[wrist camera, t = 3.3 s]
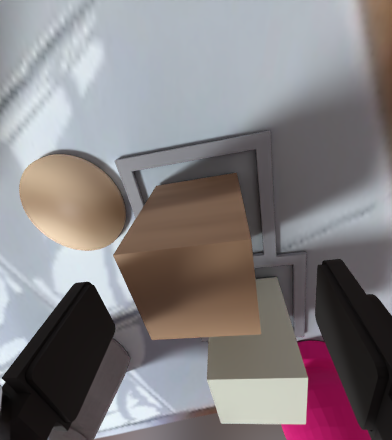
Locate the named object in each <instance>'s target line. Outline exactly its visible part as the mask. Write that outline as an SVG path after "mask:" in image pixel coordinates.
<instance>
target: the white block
mask: <svg viewBox="0 0 392 440" xmlns="http://www.w3.org/2000/svg"><path fill="white" fill-rule="evenodd" d="M255 280H256V289H257V299H258V308H259V318H260V327H261V334H259V335H239V336H219V337H209V342H208V368H207V381H208V384H209V387H210V390H211V394H212V397H213V400H214V403H215V406H216V409H217V412H218V415H219V418H220V422H221V423H224V424H228V423H229V424H231V423H232V424H306V412H307V390H308V376H307V373H306V369H305V366H304V363H303V360H302V356H301V353H300V350H299V347H298V343H297V340H296V337H295V334H294V331H293V327H292V324H291V321H290V318H289V314H288V311H287V308H286V305H285V301H284V298H283V295H282V292H281V288H280V285H279V282H278V279H277V277H273V278H261V279H255Z"/></svg>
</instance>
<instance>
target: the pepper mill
mask: <svg viewBox="0 0 392 440" xmlns="http://www.w3.org/2000/svg"><path fill="white" fill-rule="evenodd" d="M297 343H298V347H299V350H300V353H301V356H302V360H303V363H304V366H305V369H306V373H307V376H308V390H307V412H306V424H281V425H282V428H283V431H284V434H285V437H286V439H287V440H371V437H370V435H369V433H368V430H363V429H361V427H360V426H359V424H358V422H357V419H356V417H355V414H354V412H353V410H352V407H351V405H350V402H349V400H348V397H347V395H346V393H345V390H344V388H343V385H342V383H341V380H340V378H339V375H338V373H337V371H336V368H335V366H334V363H333V361H332V358H331V356H330V354H329V351H328V349H327V346H326V344H325V342H322V341H313V340H312V341H301V342H297Z"/></svg>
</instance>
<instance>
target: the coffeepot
mask: <svg viewBox="0 0 392 440" xmlns="http://www.w3.org/2000/svg"><path fill="white" fill-rule="evenodd" d="M130 359H131V358H130V357H129V355H128V353H127V352H126V350H125V349H124V348H123V347H122V345H120V344H119V343H118V342H117V341H116V340H114V339H113V338H112V340H111V342H110V344H109V347H108V349H107V351H106V353H105V356H104V358H103V360H102V362H101V365H100V367H99V369H98V371H97V374H96V376H95V378H94V380H93V383H92V385H91V387H90V389H89V392H88V394H87V396H86V398H85V401H84V403H83V405H82V407H81V410H80V412H79V414H78V416H77V418H76V419H75V420H74V421H72V423H71V426H70V428H69V430H68V431H55V430H54V429H52V431H51V433H50V435H49V440H94V438H95V436H96V434H97V432H98V430H99V428H100V425H101V423H102V421H103V419H104V417H105V415H106V413H107V411H108V409H109V407H110V405H111V403H112V401H113V399H114V397H115V395H116V393H117V390H118V388H119V386H120V384H121V382H122V380H123V378H124V376H125V373H126V370H127V367H128V364H129V362H130Z"/></svg>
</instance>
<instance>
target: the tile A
mask: <svg viewBox="0 0 392 440" xmlns="http://www.w3.org/2000/svg"><path fill="white" fill-rule="evenodd" d="M254 149H256V160H257V173H258V186H259V198H260V211H261V224H262V237H263V249H264V253H255V254H253V261H254V265H260V264H270V263H272V262H273V263H277V258H276V237H275V216H274V195H273V174H272V152H271V131H270V130H268V131H263V132H258V133H253V134H247V135H242V136H237V137H232V138H226V139H221V140H216V141H211V142H205V143H200V144H195V145H190V146H185V147H179V148H174V149H169V150H164V151H158V152H153V153H148V154H143V155H137V156H132V157H127V158H122V159H116V160H115V164H116V166H117V169H118V172H119V174H120V177H121V180H122V183H123V185H124V188H125V191H126V194H127V196H128V199H129V202H130V204H131V207H132V210H133V213H134V215H135V218H137V216H138V214H139V213H140V211H141V210H142V208H143V206H144V205H145V204H144V201H143V198H142V195H141V192H140V189H139V186H138V183H137V180H136V177H135V174H134V171H137V170H143V169H148V168H154V167H159V166H165V165H170V164H176V163H182V162H187V161H193V160H198V159H204V158H209V157H215V156H221V155H226V154H232V153H237V152H243V151H248V150H254Z"/></svg>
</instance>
